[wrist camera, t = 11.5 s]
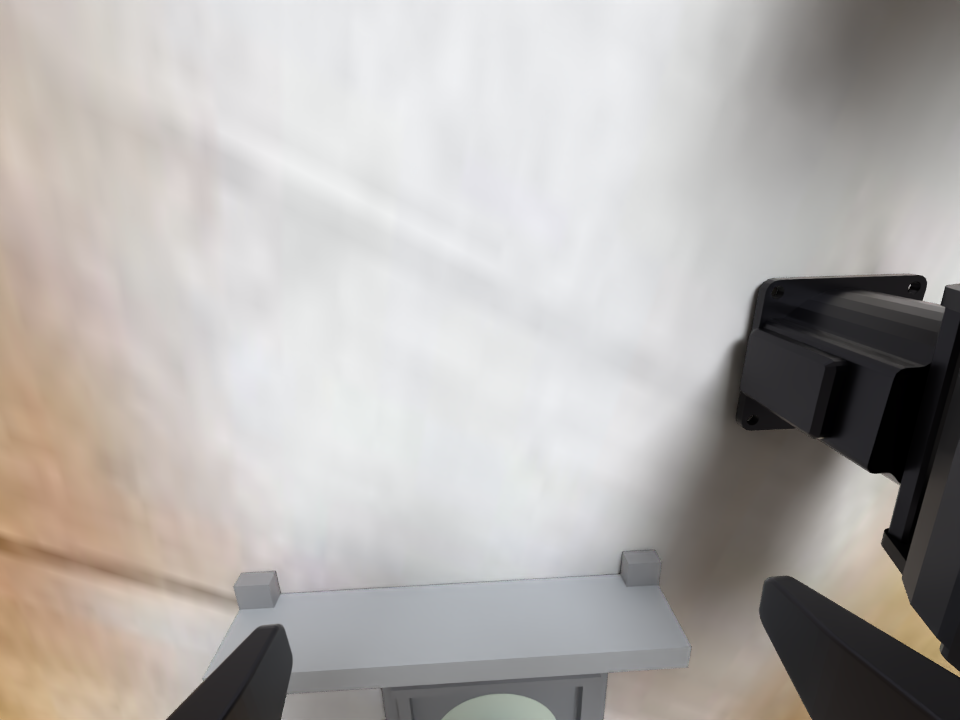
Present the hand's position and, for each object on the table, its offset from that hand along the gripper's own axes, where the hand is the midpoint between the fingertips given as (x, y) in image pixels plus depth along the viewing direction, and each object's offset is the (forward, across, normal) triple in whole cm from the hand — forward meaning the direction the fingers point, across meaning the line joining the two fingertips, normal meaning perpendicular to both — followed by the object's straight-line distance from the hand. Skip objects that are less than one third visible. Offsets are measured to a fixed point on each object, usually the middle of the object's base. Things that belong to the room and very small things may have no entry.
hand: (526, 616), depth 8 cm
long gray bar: (+11, +2, +11) cm, 16 cm away
